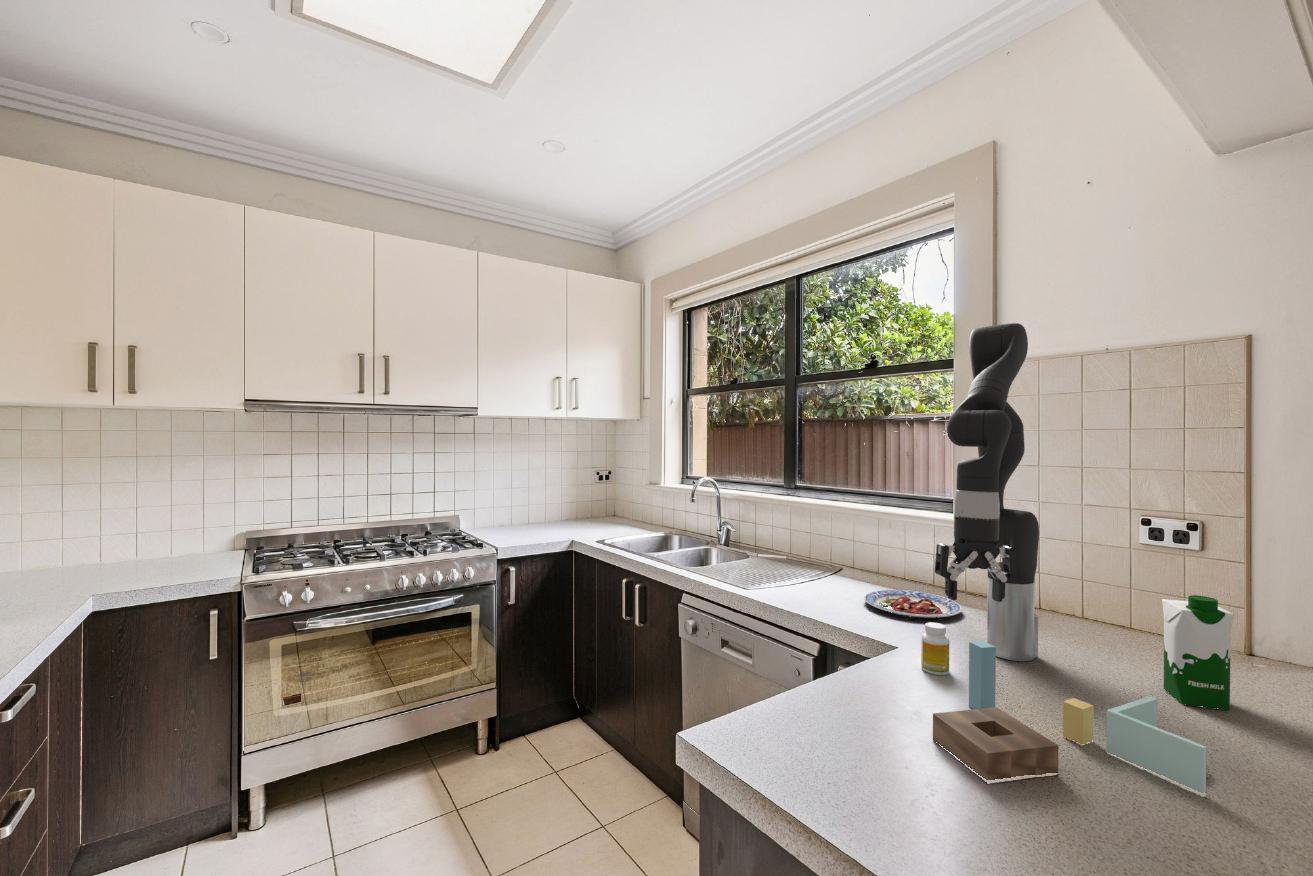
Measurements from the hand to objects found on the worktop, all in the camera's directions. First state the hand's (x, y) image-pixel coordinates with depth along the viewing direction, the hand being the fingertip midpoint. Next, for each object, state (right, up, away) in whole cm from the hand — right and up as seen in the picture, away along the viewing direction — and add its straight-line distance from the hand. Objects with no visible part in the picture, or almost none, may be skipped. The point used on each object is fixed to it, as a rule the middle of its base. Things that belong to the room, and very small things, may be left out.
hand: (974, 600), depth 109 cm
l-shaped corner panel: (+19, -20, -21) cm, 35 cm away
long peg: (-1, -19, -4) cm, 19 cm away
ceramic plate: (+13, -19, +57) cm, 62 cm away
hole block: (-8, -19, -19) cm, 28 cm away
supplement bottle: (-1, -19, +14) cm, 24 cm away
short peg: (+9, -19, -14) cm, 26 cm away
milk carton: (+42, -19, +1) cm, 47 cm away
